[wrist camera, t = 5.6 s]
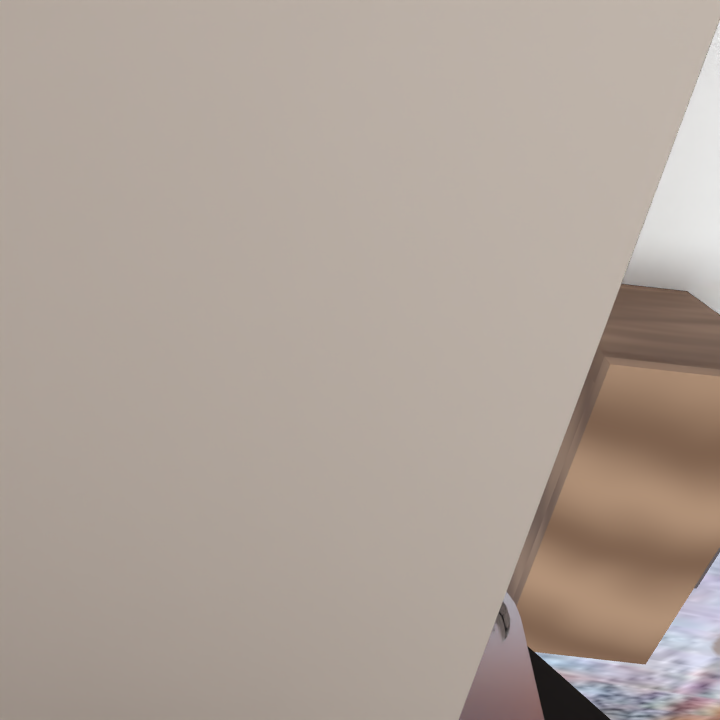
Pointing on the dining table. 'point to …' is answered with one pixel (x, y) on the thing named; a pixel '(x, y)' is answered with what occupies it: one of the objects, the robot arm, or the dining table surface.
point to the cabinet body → (629, 486)
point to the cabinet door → (301, 332)
